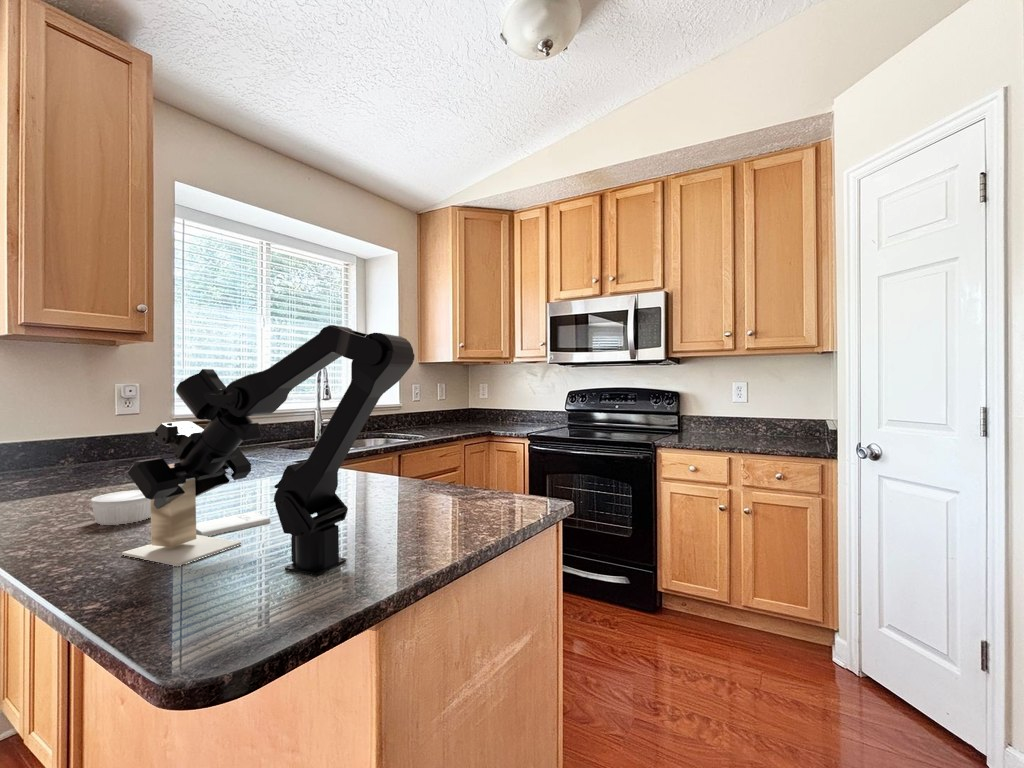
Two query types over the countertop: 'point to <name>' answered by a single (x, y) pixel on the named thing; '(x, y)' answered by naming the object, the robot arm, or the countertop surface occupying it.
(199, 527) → the external hard drive
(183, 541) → the post
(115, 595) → the countertop surface
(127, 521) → the ramekin
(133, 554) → the mat
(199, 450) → the robot arm
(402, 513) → the countertop surface
